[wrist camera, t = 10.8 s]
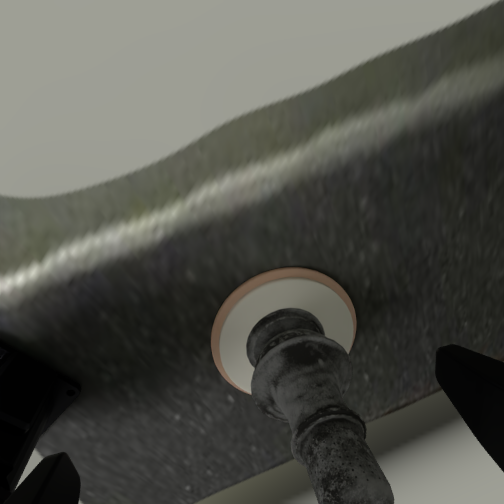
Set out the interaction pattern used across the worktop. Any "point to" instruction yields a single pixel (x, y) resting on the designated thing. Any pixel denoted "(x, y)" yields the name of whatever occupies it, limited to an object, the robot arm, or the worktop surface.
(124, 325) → the worktop surface
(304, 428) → the dark chess piece
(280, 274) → the coaster
